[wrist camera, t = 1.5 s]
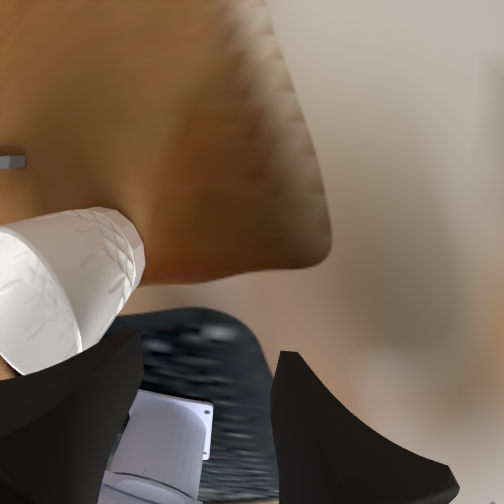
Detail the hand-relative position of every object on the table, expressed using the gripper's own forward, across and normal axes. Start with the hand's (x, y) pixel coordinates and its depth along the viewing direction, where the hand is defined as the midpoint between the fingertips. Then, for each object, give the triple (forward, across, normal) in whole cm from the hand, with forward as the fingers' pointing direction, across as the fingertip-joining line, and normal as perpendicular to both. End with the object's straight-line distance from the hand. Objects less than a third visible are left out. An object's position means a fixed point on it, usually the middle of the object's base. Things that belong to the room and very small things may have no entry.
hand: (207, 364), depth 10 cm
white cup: (+10, +9, 0) cm, 14 cm away
